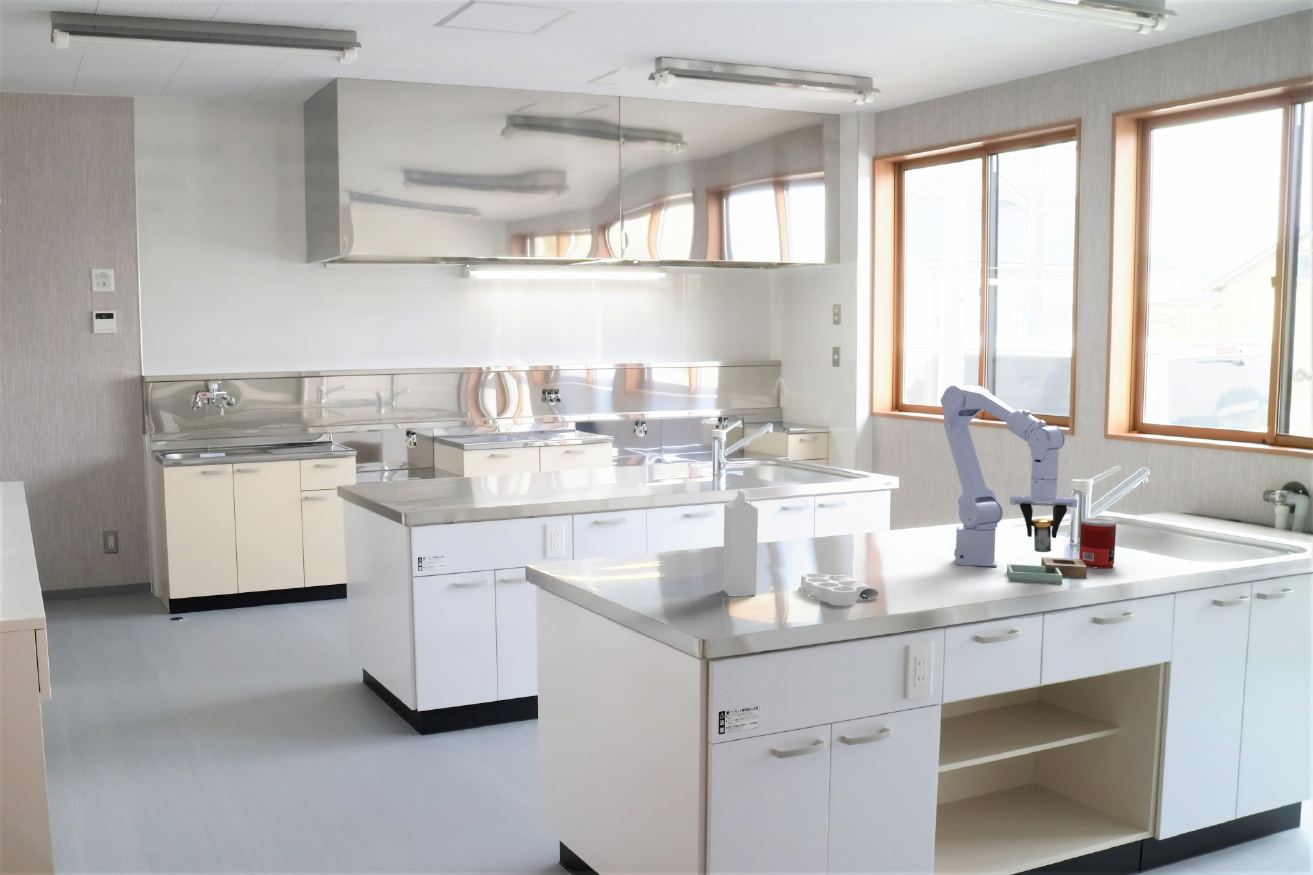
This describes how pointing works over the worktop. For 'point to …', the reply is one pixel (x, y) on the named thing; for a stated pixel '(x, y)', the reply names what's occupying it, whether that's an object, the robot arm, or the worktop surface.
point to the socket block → (1066, 566)
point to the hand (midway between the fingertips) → (1041, 536)
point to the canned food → (1097, 542)
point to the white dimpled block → (836, 589)
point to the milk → (740, 547)
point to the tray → (1034, 573)
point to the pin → (1042, 534)
